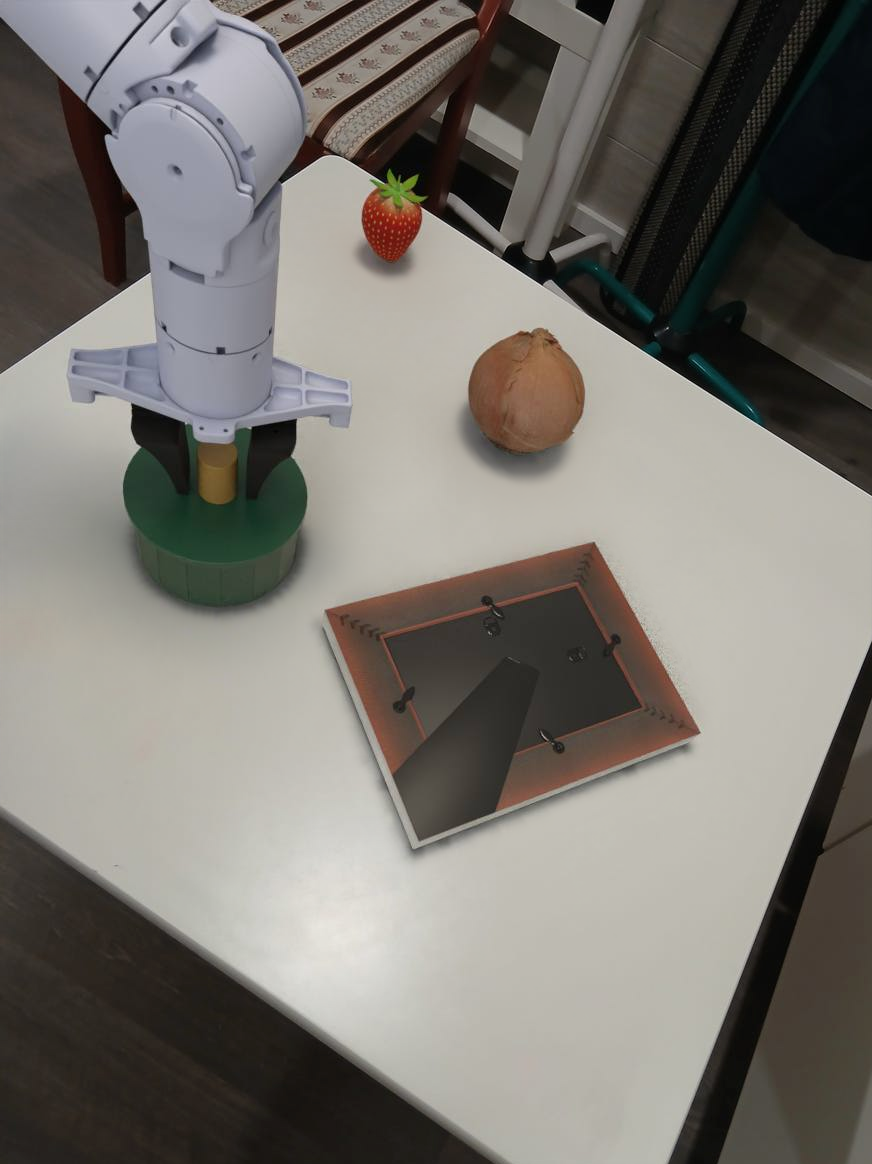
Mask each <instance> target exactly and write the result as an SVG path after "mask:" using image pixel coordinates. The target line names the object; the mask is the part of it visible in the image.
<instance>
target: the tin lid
mask: <svg viewBox="0 0 872 1164" xmlns="http://www.w3.org/2000/svg"><path fill="white" fill-rule="evenodd" d="M185 428H186V435H187V441H188V447H189V454H190V479H189V494H188V495H181V494H177V492H176V489H175V487H174V485H173V483H172V481H171V479H170V477H169V475H168V474H167V472H166V471H165V469H164V468H163V466H162V465H161V464H160V463H159V461H158V460H157V459H156V458H155V457H154V456H153V455H152V454H151V453H150V452H148V451H147V450H146V449H144V448H143V447H141V446H140V448H139V449H137V451H136V452H135V453H134V455H133V456H132V458H131V459H130V461H129V462H128V465H127V467H126V470H125V472H124V475H123V482H122V497H123V503H124V508H125V510H126V513H127V514H126V515H127V517H128V518H129V520H130V523H131V525H132V526H133V527H135V528H136V530H137V531H138V532H139V534H140V535H141V536H142V537H143V538H144V539H145V540H146V541H147V542H148V543H150V544H151V545H152V546H153V547H155V548H156V549H157V550H159V551H161V552H162V553H164V554H166V555H168V556H170V557H172V558H174V559H176V560H179V561H182V562H185V563H188V564H192V565H197V566H201V567H211V568H230V567H239V566H244V565H248V564H252V563H255V562H258V561H261V560H263V559H265V558H267V557H269V556H271V555H273V554H275V553H276V552H278V551H279V550H281V549H282V548H283V547H284V546H286V545H287V544H288V543H289V542H290V541H291V540H292V538H293V537H294V536H295V535H296V534H297V532H298V533H299V530H300V529H301V528H302V525H303V523H304V520H305V517H306V514H307V510H308V509H307V508H308V497H309V496H308V487H307V483H306V479H305V477H304V474H303V472H302V469H301V468H300V466H299V464H298V463H297V462H296V460H295V459H294V458H293V456H292V455H291V457H289V458H287V459H285V460H283V461H282V462H281V463H279V464H278V465H277V466H276V467H275V468H274V469H273V470H272V471H271V473H270V474H269V475H268V477H267V478H266V480H265V481H264V483H263V485H262V487H261V489H260V491H259V493H258V497H257V499H256V500H252V499H246V469H247V455H248V449H249V442H250V436H251V428H250V427H247V428H241V429H237V430H236V431H235V438H234V441H233V442H231V443H229V444H219V443H207V442H201V441H197V440H196V439H195V438H194V435H193V426H192V425H190V424H188V423H185ZM297 535H298V534H297Z"/></svg>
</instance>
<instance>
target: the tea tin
mask: <svg viewBox="0 0 872 1164" xmlns="http://www.w3.org/2000/svg"><path fill="white" fill-rule="evenodd" d="M133 527H134V526H133ZM298 534H299V531H298V532H297V534H296V535H295V536H294V537H293V538H292V540H291V541H290V542H289V543H288V544H287V545H286V546H284V547H283V548H282V549H281V550H279V551H278V552H276V553H275V554H273V555H271V556H269V557H267V558H265V559H263V560H261V561H258V562H255V563H252V564H248V565H244V566H239V567H230V568H211V567H201V566H197V565H192V564H188V563H185V562H182V561H179V560H176V559H174V558H172V557H170V556H168V555H166V554H164V553H162V552H161V551H159V550H157V549H156V548H155V547H153V546H152V545H151V544H150V543H148V542H147V541H146V540H145V539H144V538H143V537H142V536H141V535H140V534H139V532H138V531H137V530H136V528H135V527H134V535H135V540H136V543H137V548H138V553H139V557H140V560H141V564H142V565H143V566H144V568H145V570H146V572H147V574H149V576H150V577H151V579H152V580H154V582H155V583H157V585H158V586H160V587H161V588H162V589H164V590H165V591H166V592H167V593H170V594H171V595H173V596H175V597H176V598H179V599H181V600H183V601H185V602H189V603H192V604H196V605H200V606H208V607H216V608H217V607H219V608H220V607H233V606H239V605H243V604H247V603H251V602H252V601H256V600H257V599H260V598H261V597H264V596H265V595H267V594H268V593H270V592H271V591H273V589H275V588H276V587H277V586H278V585H279V584H281V582H283V580H284V579H285V578H286V576H287V575H288V573H289V572H290V569H291V568H292V565H293V563H294V560H295V554H296V546H297V540H298Z"/></svg>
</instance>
